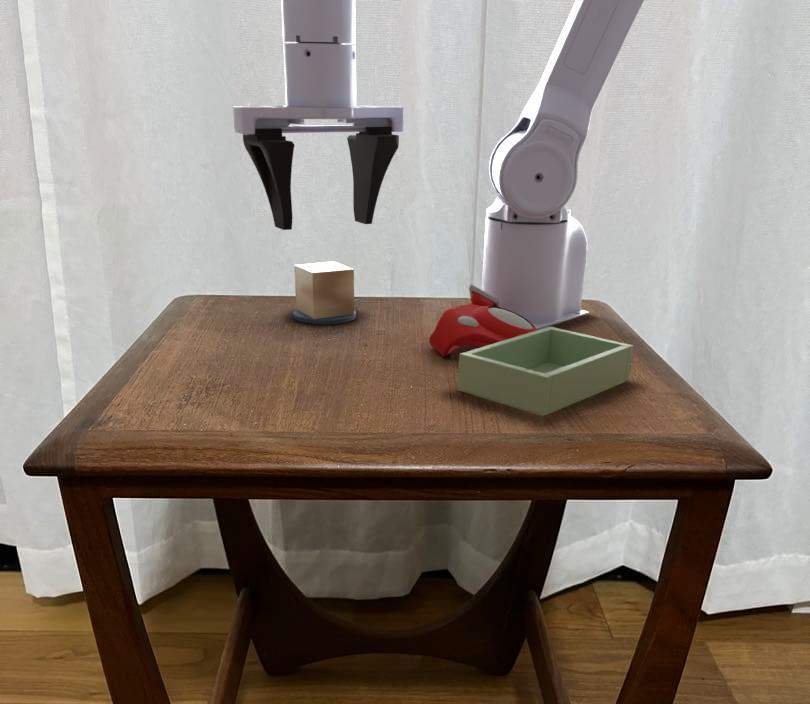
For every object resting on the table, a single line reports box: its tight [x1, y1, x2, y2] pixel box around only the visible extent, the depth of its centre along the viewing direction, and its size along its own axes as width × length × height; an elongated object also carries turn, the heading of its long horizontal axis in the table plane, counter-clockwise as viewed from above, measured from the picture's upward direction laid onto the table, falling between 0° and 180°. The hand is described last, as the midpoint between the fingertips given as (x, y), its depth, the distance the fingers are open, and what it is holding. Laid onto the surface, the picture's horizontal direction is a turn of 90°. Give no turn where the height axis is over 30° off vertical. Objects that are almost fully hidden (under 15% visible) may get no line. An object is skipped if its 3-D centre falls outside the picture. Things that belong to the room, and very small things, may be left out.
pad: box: [293, 309, 357, 325], centre depth 79 cm, size 6×6×1 cm
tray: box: [457, 326, 634, 417], centre depth 61 cm, size 11×7×3 cm
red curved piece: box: [428, 284, 537, 358], centre depth 70 cm, size 12×4×10 cm
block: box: [293, 261, 355, 319], centre depth 78 cm, size 4×4×4 cm
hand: (324, 225), depth 75 cm, fingers open, 7 cm apart
